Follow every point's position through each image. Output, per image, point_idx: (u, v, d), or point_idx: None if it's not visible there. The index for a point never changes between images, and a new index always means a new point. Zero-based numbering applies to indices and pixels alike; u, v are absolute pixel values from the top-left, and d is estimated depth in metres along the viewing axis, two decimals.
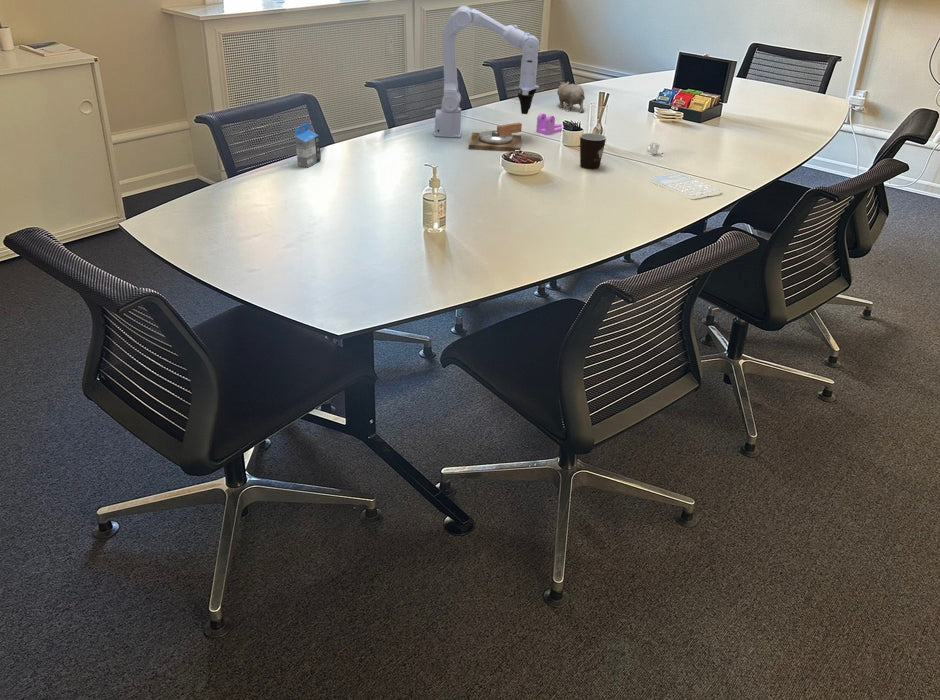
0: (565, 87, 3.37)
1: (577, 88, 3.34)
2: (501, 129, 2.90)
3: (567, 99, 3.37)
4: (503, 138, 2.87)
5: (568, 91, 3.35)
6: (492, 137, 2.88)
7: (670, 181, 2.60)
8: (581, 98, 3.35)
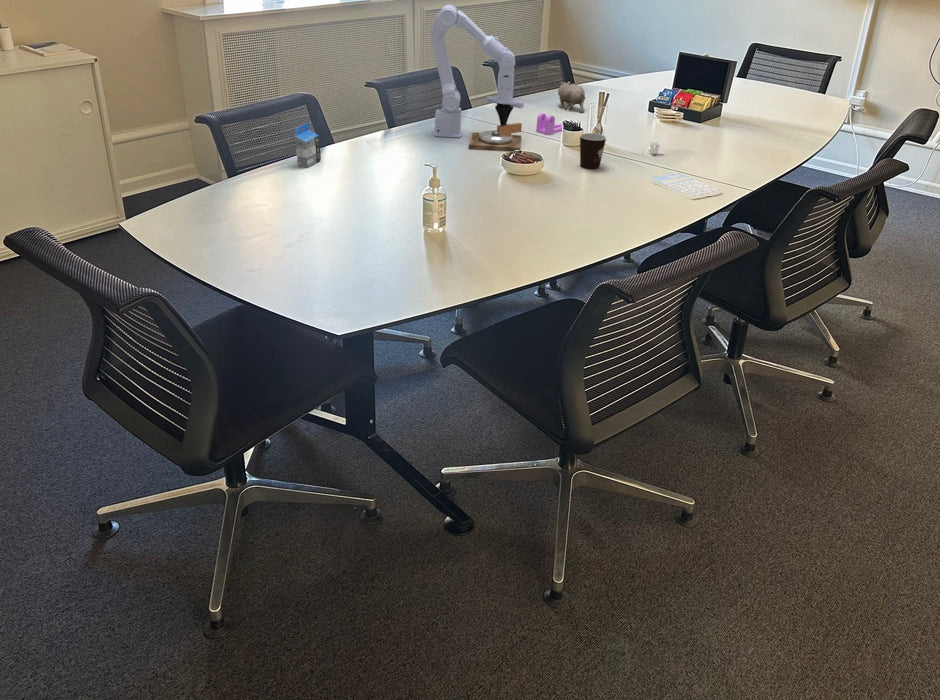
0: (566, 87, 3.37)
1: (577, 88, 3.34)
2: (501, 129, 2.90)
3: (567, 99, 3.37)
4: (503, 138, 2.87)
5: (569, 91, 3.35)
6: (492, 137, 2.88)
7: (670, 181, 2.60)
8: (581, 98, 3.35)
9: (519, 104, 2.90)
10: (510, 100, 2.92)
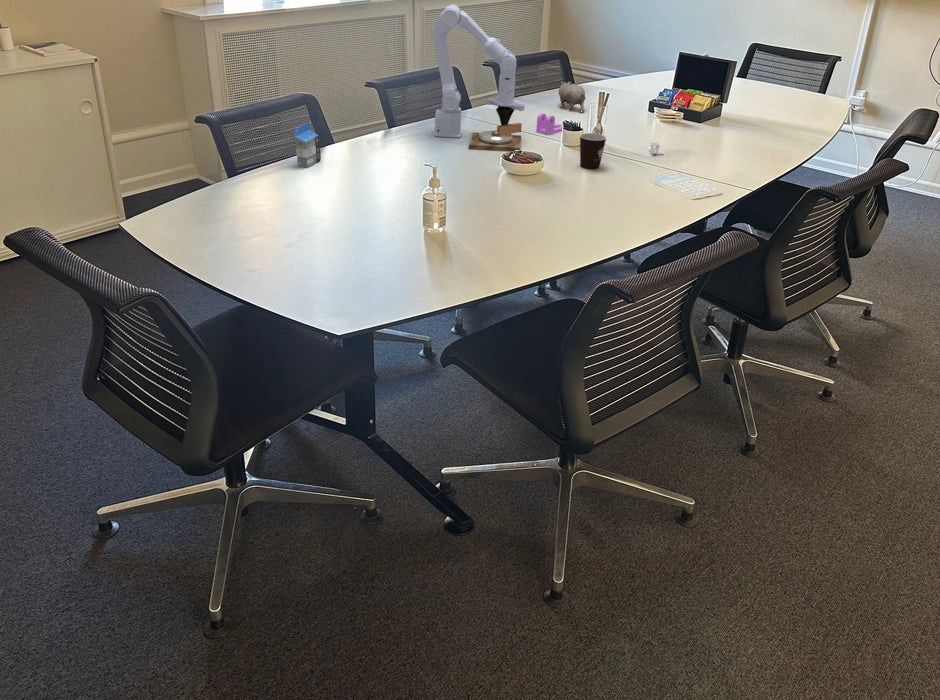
0: (566, 87, 3.37)
1: (577, 88, 3.34)
2: (501, 129, 2.90)
3: (568, 99, 3.37)
4: (503, 138, 2.87)
5: (569, 91, 3.35)
6: (492, 137, 2.88)
7: (670, 181, 2.60)
8: (582, 98, 3.35)
9: (520, 107, 2.90)
10: (511, 102, 2.92)
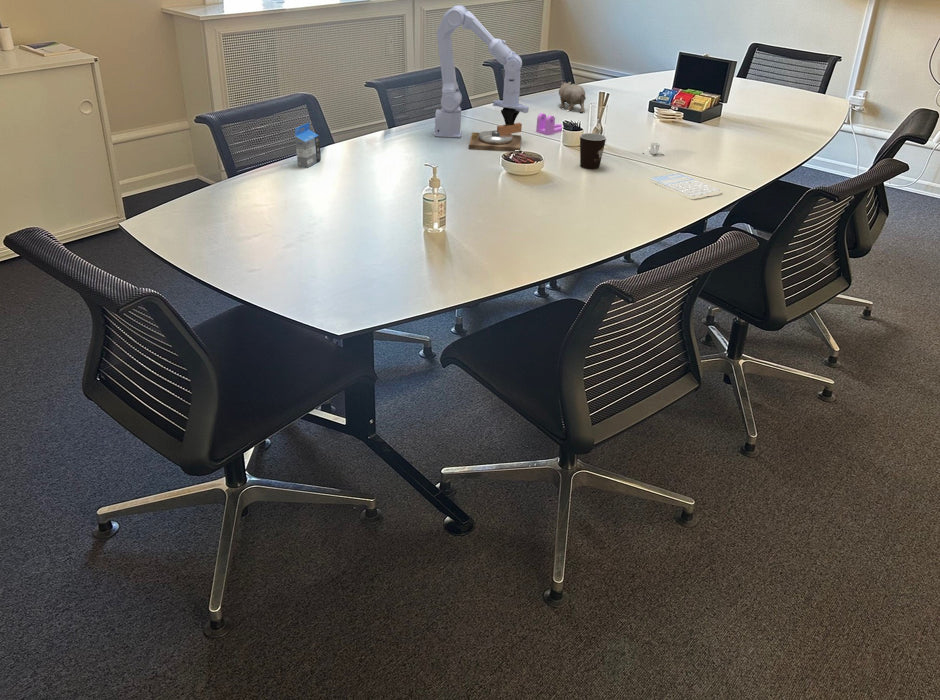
0: (566, 87, 3.37)
1: (577, 88, 3.34)
2: (501, 129, 2.90)
3: (568, 99, 3.37)
4: (503, 138, 2.87)
5: (569, 91, 3.34)
6: (492, 137, 2.88)
7: (670, 181, 2.60)
8: (582, 98, 3.35)
9: (524, 109, 2.88)
10: (515, 104, 2.89)
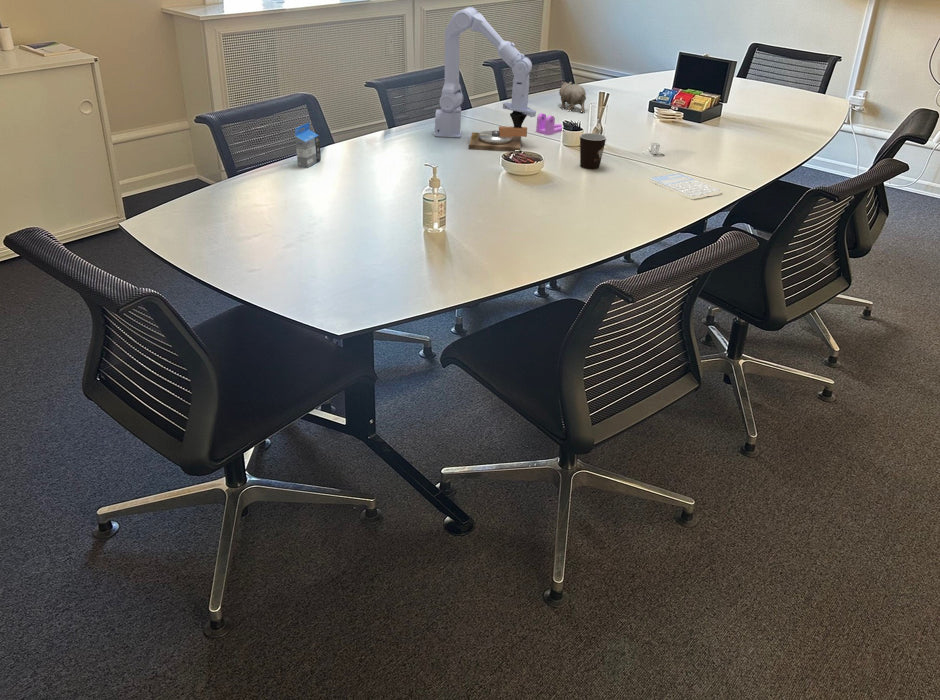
0: (567, 87, 3.37)
1: (578, 88, 3.34)
2: (500, 129, 2.89)
3: (568, 99, 3.37)
4: (496, 138, 2.87)
5: (570, 91, 3.34)
6: (488, 136, 2.89)
7: (670, 181, 2.60)
8: (582, 98, 3.35)
9: (530, 112, 2.84)
10: (523, 108, 2.86)
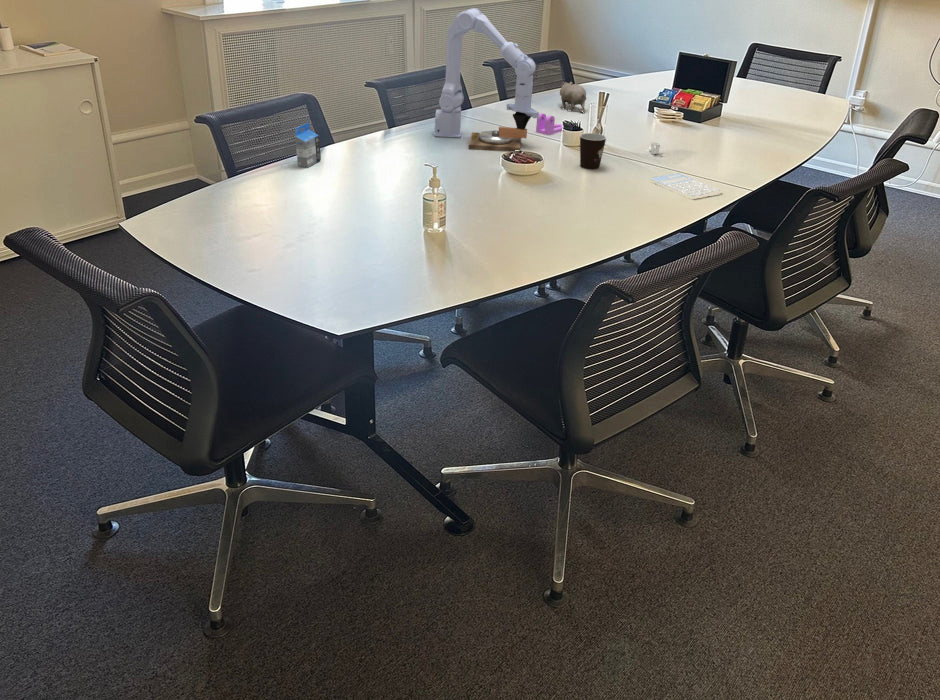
0: (567, 87, 3.37)
1: (578, 88, 3.33)
2: (500, 129, 2.89)
3: (569, 99, 3.37)
4: (493, 138, 2.87)
5: (570, 91, 3.34)
6: (487, 135, 2.89)
7: (670, 181, 2.60)
8: (582, 98, 3.35)
9: (533, 114, 2.82)
10: (526, 109, 2.85)
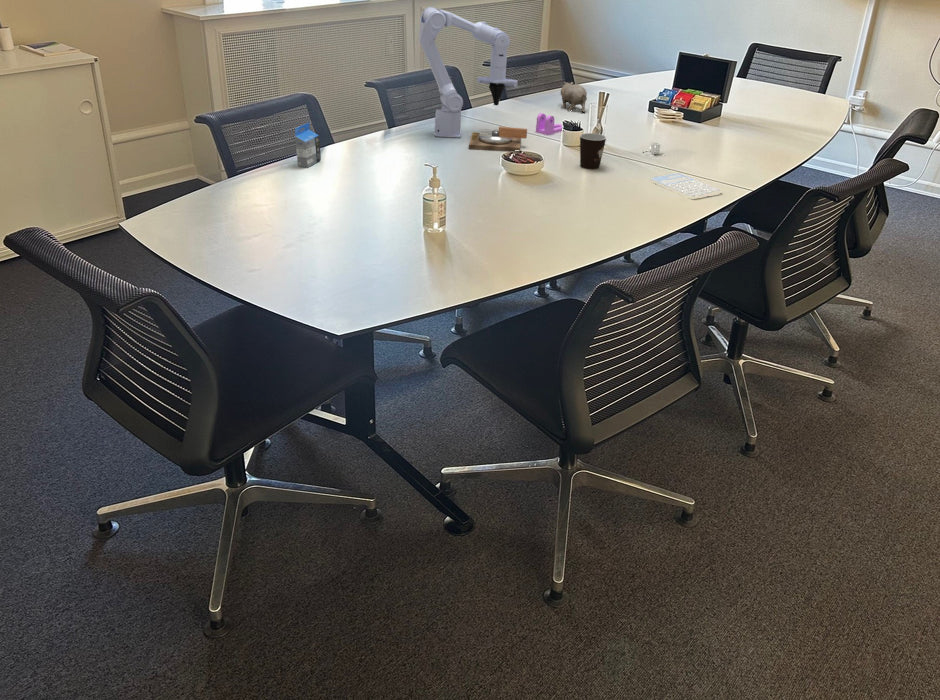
0: (568, 87, 3.37)
1: (579, 88, 3.33)
2: (500, 129, 2.89)
3: (569, 99, 3.37)
4: (493, 138, 2.87)
5: (570, 91, 3.34)
6: (487, 135, 2.89)
7: (670, 181, 2.60)
8: (583, 98, 3.34)
9: (514, 82, 2.93)
10: (504, 79, 2.94)
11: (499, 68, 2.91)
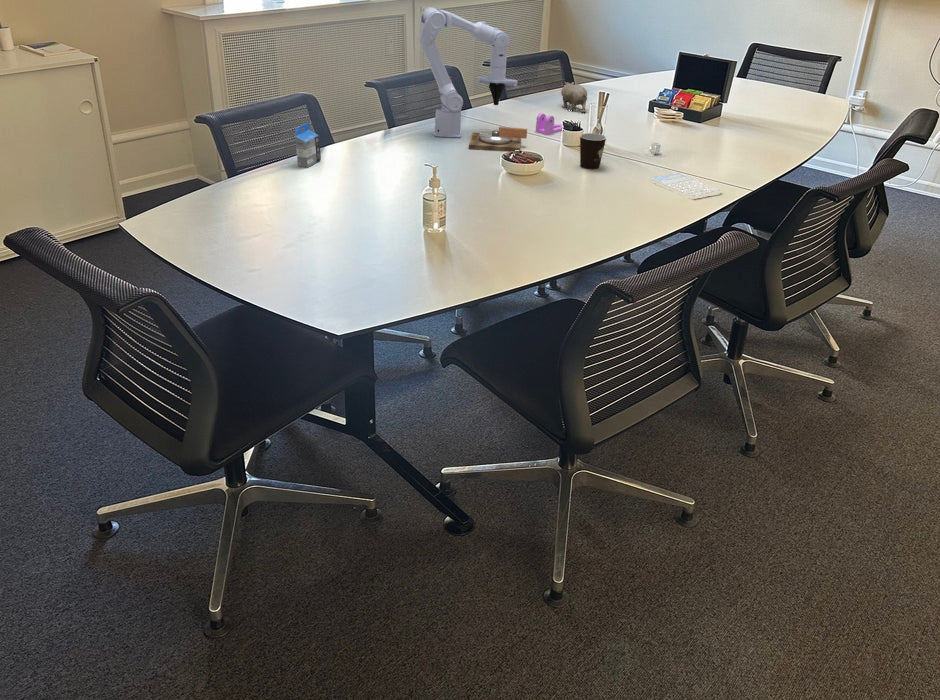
0: (568, 87, 3.37)
1: (579, 88, 3.33)
2: (500, 129, 2.89)
3: (570, 99, 3.37)
4: (493, 138, 2.87)
5: (571, 91, 3.34)
6: (487, 135, 2.89)
7: (670, 181, 2.60)
8: (583, 99, 3.34)
9: (514, 82, 2.94)
10: (504, 79, 2.94)
11: (499, 68, 2.91)
